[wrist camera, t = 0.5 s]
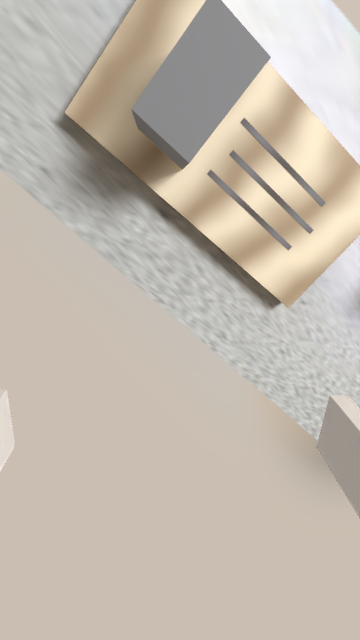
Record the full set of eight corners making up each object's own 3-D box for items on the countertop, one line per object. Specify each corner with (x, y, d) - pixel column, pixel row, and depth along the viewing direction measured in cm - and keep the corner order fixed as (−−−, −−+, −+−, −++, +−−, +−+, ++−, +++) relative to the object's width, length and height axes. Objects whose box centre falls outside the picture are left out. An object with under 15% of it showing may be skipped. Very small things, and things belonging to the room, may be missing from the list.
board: (70, 117, 31) (64, 112, 29) (168, -35, 27) (168, -52, 25) (282, 302, 38) (288, 308, 36) (379, 201, 35) (391, 201, 33)
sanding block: (182, 169, 31) (189, 163, 23) (138, 129, 30) (131, 108, 22) (242, 91, 29) (270, 57, 22) (198, 44, 28) (212, -10, 20)
